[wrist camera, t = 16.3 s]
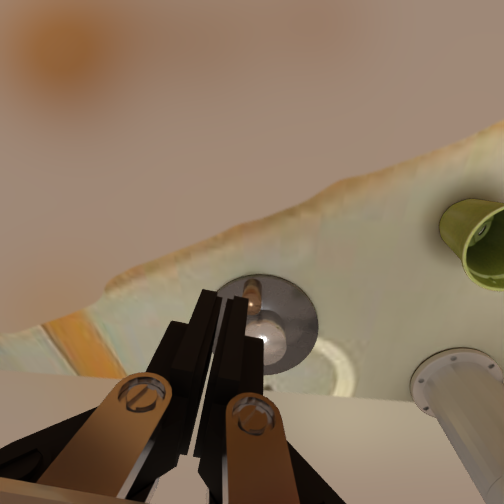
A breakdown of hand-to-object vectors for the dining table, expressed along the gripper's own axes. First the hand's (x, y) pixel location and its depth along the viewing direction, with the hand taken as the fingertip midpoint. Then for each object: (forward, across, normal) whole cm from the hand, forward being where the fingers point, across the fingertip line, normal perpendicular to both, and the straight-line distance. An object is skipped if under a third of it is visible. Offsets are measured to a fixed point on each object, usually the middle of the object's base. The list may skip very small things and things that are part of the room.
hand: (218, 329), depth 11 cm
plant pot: (+29, -26, -1) cm, 39 cm away
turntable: (+29, -5, +19) cm, 35 cm away
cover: (+28, -5, +19) cm, 34 cm away
